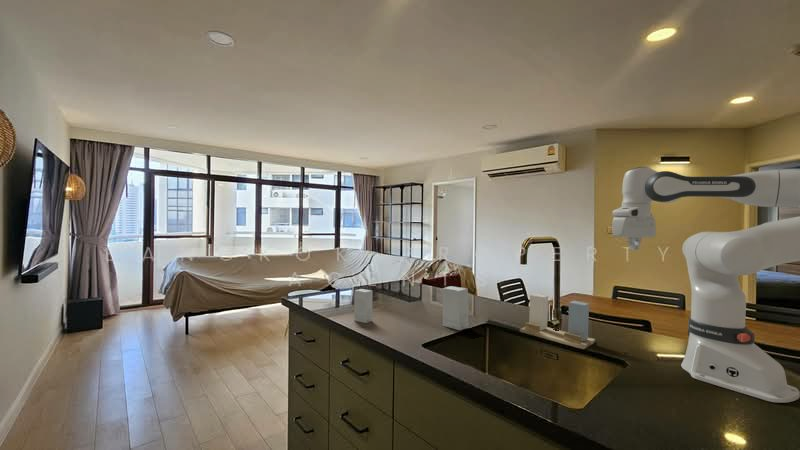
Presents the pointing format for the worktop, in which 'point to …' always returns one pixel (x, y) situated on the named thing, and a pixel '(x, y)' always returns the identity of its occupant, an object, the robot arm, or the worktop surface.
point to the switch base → (557, 336)
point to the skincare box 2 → (455, 307)
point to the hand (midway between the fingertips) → (634, 249)
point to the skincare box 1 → (363, 305)
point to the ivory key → (538, 310)
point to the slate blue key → (578, 319)
